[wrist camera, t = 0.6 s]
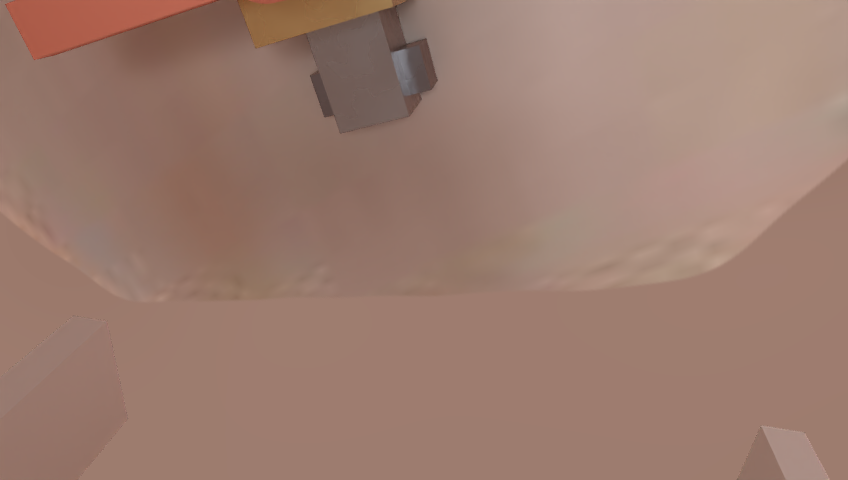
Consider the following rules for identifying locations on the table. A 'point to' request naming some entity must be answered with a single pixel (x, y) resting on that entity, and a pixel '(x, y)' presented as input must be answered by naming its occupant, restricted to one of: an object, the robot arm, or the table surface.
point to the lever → (89, 20)
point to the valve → (351, 55)
